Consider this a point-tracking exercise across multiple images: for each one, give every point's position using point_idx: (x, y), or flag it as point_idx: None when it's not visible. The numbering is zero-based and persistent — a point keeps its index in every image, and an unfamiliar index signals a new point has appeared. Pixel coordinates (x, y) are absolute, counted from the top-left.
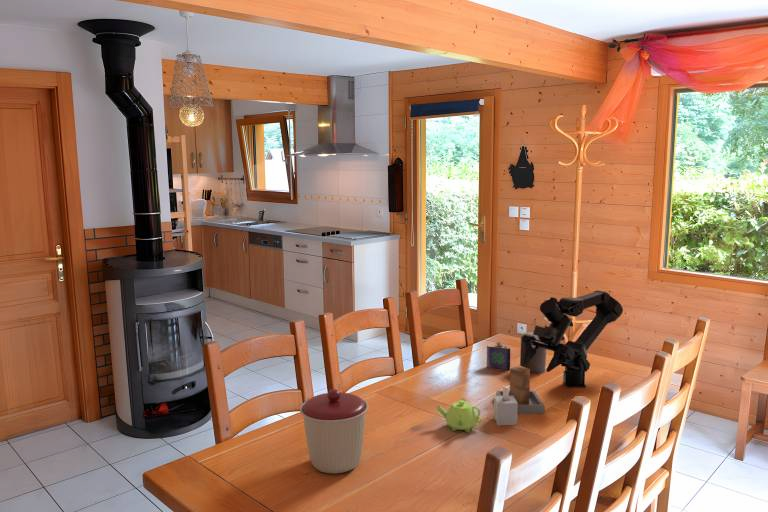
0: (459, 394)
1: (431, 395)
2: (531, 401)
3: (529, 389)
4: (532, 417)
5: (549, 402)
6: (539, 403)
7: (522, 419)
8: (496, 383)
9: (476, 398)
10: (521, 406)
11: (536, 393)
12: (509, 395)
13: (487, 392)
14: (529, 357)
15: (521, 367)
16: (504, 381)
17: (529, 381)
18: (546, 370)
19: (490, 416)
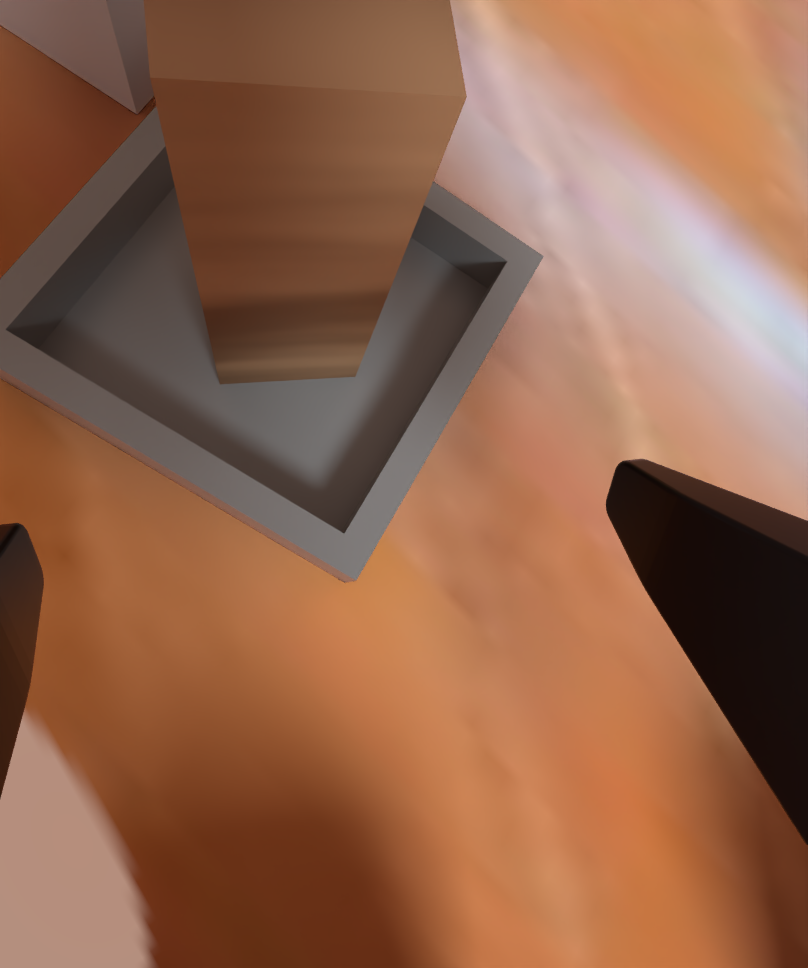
0: (703, 149)
1: (763, 10)
2: (250, 445)
3: (204, 313)
4: (8, 224)
5: (167, 633)
6: (54, 360)
7: (38, 129)
8: None
9: (588, 183)
10: (116, 156)
11: (274, 531)
12: (451, 349)
13: (646, 334)
14: (738, 629)
15: (342, 27)
16: None
17: (190, 246)
18: (13, 524)
19: None
